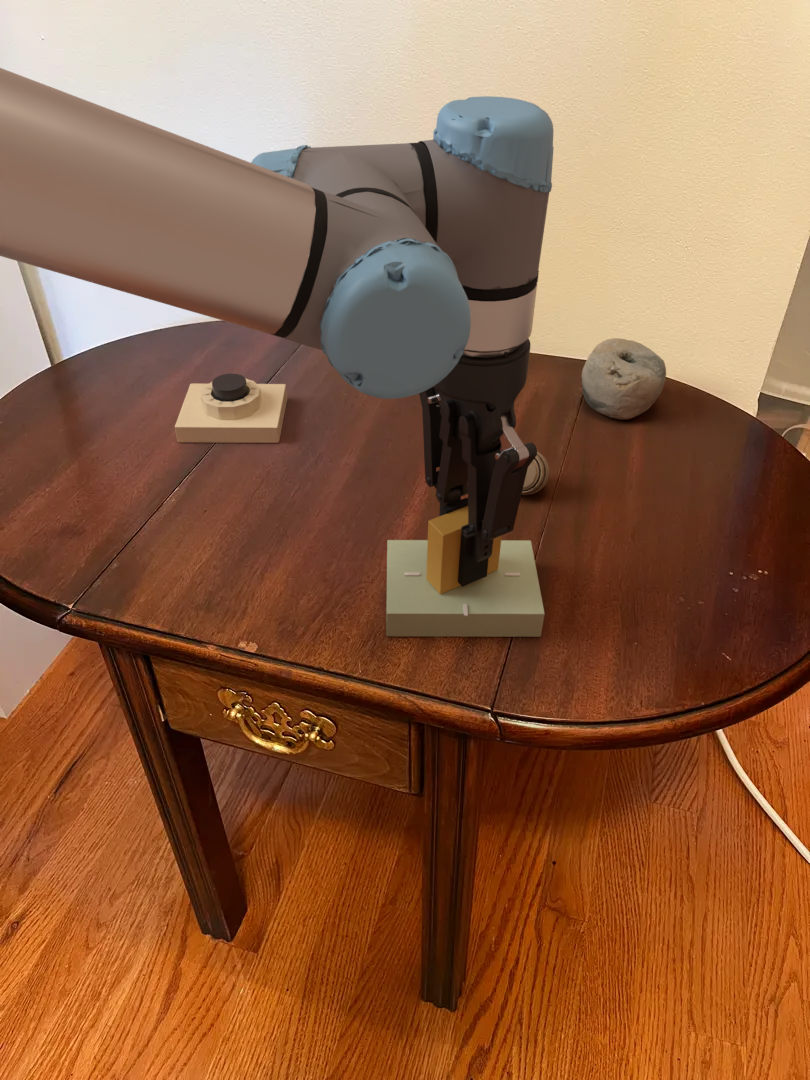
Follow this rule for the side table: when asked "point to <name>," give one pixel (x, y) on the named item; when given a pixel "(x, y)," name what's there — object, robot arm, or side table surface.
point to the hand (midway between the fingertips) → (462, 568)
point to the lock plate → (463, 596)
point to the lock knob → (450, 550)
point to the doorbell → (232, 415)
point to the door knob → (536, 475)
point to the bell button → (229, 387)
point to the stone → (622, 378)
